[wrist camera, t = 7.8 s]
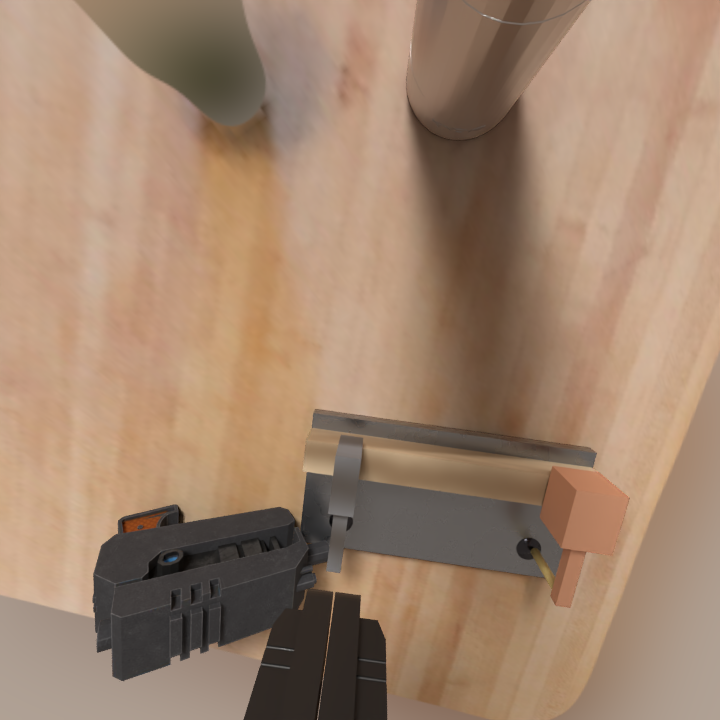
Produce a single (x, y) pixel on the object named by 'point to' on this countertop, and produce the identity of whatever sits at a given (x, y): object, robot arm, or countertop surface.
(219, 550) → the tool
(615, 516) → the slider leg
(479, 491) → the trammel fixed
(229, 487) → the countertop surface
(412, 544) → the hole plate
